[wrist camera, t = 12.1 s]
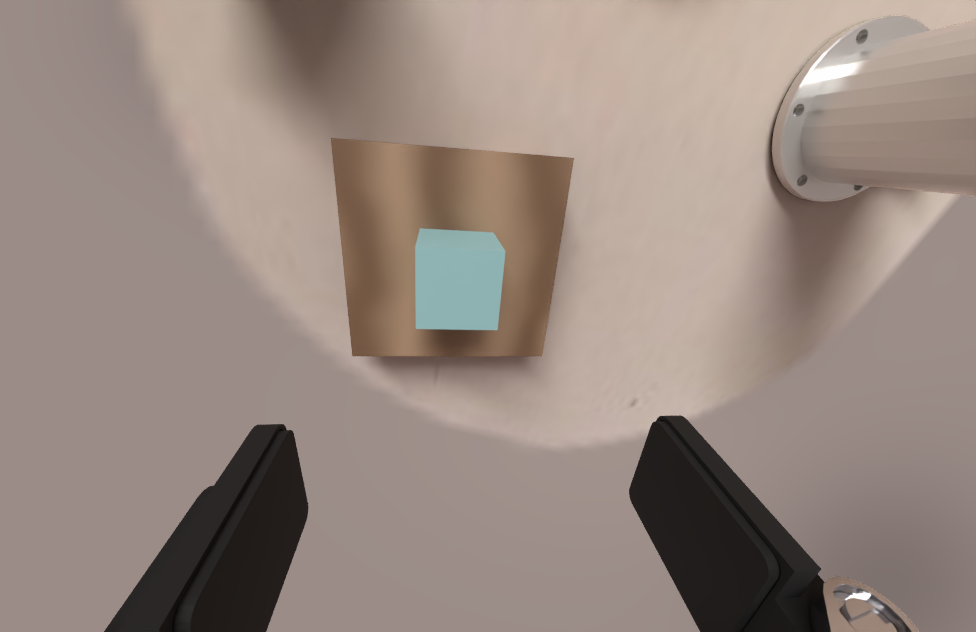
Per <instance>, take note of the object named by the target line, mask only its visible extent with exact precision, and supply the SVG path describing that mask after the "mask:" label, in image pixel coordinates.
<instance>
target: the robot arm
mask: <svg viewBox="0 0 976 632" xmlns="http://www.w3.org/2000/svg"><path fill="white" fill-rule="evenodd" d="M772 157H773V165H774V168H775V171H776V174H777V177H778V178H779V180H780V182H781V183H782V185H783V186H784V187H785V188H786V189H787V190H788V191H789V192H790V193H791V194H793V195H795V196H797V197H799V198H801V199H806V200H811V201H820V202H831V201H838V200H842V199H845V198H848V197H851V196H854V195H856V194H858V193H860V192H862V191H864V190H866V189H868V188H869V187H871V186H873V187H884V188H896V189H907V190H918V191H929V192H940V193H951V194H962V195H973V196H976V20H972V21H968V22H964V23H960V24H955V25H951V26H947V27H943V28H939V29H934V30H929V28H928V27H927V26H925V25H924V24H923V23H922V22H920V21H919V20H917V19H914V18H911V17H908V16H905V15H888V16H884V17H880V18H875V19H872V20H868V21H866V22H863V23H860V24H857V25H854V26H852V27H850V28H849V29H847V30H845V31H843V32H842V33H840V34H838V35H836V36H835V37H834V38H833V39H831V40H830V41H829V42H828V43H826V44H825V45H824V46H823V47H821V48H820V49H819V51H818V52H817V53H816V54H815V55H814V56H813V57H812V58H811V59H810V60H809V61H808V62H807V63H806V65H805V66H804V67H803V69H802V70H801V71H800V73H799V74H798V76H797V77H796V78H795V80H794V82H793V83H792V85H791V87H790V89H789V90H788V92H787V94H786V96H785V98H784V100H783V103H782V105H781V108H780V110H779V113H778V116H777V120H776V124H775V128H774V132H773V141H772ZM629 494H630V499H631V502H632V504H633V506H634V508H635V510H636V512H637V514H638V516H639V517H640V519H641V521H642V523H643V525H644V527H645V529H646V531H647V532H648V534H649V536H650V538H651V540H652V542H653V544H654V546H655V548H656V549H657V551H658V553H659V555H660V557H661V559H662V561H663V562H664V564H665V566H666V568H667V570H668V572H669V574H670V576H671V577H672V579H673V581H674V583H675V585H676V587H677V589H678V591H679V592H680V594H681V596H682V598H683V600H684V602H685V604H686V606H687V608H688V609H689V611H690V613H691V615H692V617H693V619H694V621H695V623H696V625H697V626H698V628H699V630H700V632H920V631H919V630H918V629H917V628H916V626H915V625H914V624H913V623H912V622H911V620H910V619H909V618H908V617H907V616H906V615H905V614H904V613H903V612H902V611H901V610H899V608H898V607H897V606H896V605H894V604H893V603H892V602H890V601H889V600H888V599H886V598H885V597H884V596H883V595H881V594H880V593H879V592H877V591H875V590H873V589H871V588H870V587H868V586H866V585H865V584H863V583H860V582H858V581H855V580H853V579H850V578H846V577H840V576H835V577H831V578H828V579H827V580H826V582H824V581H823V580H822V579H821V578H820V577H819V576H818V572H819V571H820V570H821V568H820V567H819V566H818V565H817V564H816V563H815V562H814V561H813V559H812V558H811V557H810V556H809V555H808V554H807V553H806V552H805V551H804V550H803V548H802V547H801V546H800V545H799V544H798V543H797V542H796V541H795V539H793V537H792V536H791V535H790V534H789V533H788V532H787V531H786V529H785V528H784V527H783V526H782V525H781V524H780V523H779V522H778V521H777V519H775V517H774V516H773V515H772V514H771V513H770V512H769V511H768V510H767V508H766V507H765V506H764V505H763V504H762V503H761V502H760V500H759V499H758V498H757V497H756V496H755V495H754V494H753V493H752V492H751V490H749V488H748V487H747V486H746V485H745V484H744V483H743V482H742V480H741V479H740V478H739V477H738V476H737V475H736V474H735V473H734V472H733V470H732V469H731V468H730V467H729V466H728V465H727V464H726V463H725V462H724V460H723V459H722V458H721V457H720V456H719V455H718V454H717V453H716V451H715V450H714V449H713V448H712V447H711V446H710V445H709V444H708V443H707V442H706V440H704V438H703V437H702V436H701V435H700V434H699V433H698V431H697V430H696V429H695V428H694V427H693V426H692V425H691V424H690V423H689V421H688V420H687V419H686V418H684V417H683V416H660V417H658V418H657V420H656V422H653V423H652V425H651V428H650V430H649V433H648V436H647V439H646V442H645V445H644V448H643V451H642V454H641V457H640V460H639V462H638V466H637V468H636V471H635V474H634V477H633V480H632V483H631V486H630V489H629ZM307 515H308V502H307V497H306V492H305V487H304V482H303V477H302V472H301V467H300V462H299V457H298V452H297V448H296V442H295V437H294V433H293V431H291V430H286V427H285V426H284V425H283V424H273V425H256V426H255V427H254V428H253V429H252V430H251V431H250V433H249V434H248V436H247V437H246V439H245V440H244V442H243V443H242V445H241V447H240V448H239V449H238V451H237V452H236V454H235V455H234V457H233V458H232V460H231V461H230V463H229V464H228V466H227V467H226V469H225V470H224V472H223V473H222V475H221V476H220V478H219V479H218V481H217V482H216V484H215V485H214V486H210V487H208V488H207V489H205V490H204V491H203V492H202V493H201V494H200V495H199V497H198V498H197V499H196V501H195V502H194V504H193V505H192V506H191V508H190V509H189V511H188V512H187V513H186V515H185V516H184V518H183V519H182V521H181V522H180V524H179V525H178V527H177V528H176V529H175V531H174V532H173V534H172V535H171V537H170V538H169V539H168V541H167V543H166V544H165V545H164V546H163V548H162V549H161V551H160V552H159V554H158V555H157V557H156V558H155V559H154V561H153V562H152V564H151V565H150V567H149V568H148V570H147V571H146V572H145V574H144V575H143V577H142V578H141V580H140V581H139V583H138V584H137V585H136V587H135V588H134V590H133V591H132V593H131V594H130V595H129V597H128V598H127V600H126V601H125V603H124V604H123V606H122V607H121V608H120V610H119V611H118V613H117V614H116V615H115V617H114V618H113V620H112V621H111V623H110V624H109V625H108V627H107V628H106V630H105V631H104V632H266V630H267V628H268V625H269V622H270V619H271V616H272V614H273V611H274V608H275V605H276V603H277V600H278V597H279V594H280V592H281V589H282V586H283V584H284V581H285V578H286V575H287V572H288V570H289V567H290V564H291V562H292V559H293V556H294V553H295V551H296V548H297V545H298V542H299V540H300V537H301V534H302V531H303V529H304V525H305V522H306V520H307Z"/></svg>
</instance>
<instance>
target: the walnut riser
mask: <svg viewBox="0 0 976 632" xmlns="http://www.w3.org/2000/svg"><path fill="white" fill-rule="evenodd" d="M331 143H332V153H333V163H334V173H335V183H336V194H337V204H338V214H339V224H340V234H341V244H342V255H343V265H344V275H345V285H346V295H347V305H348V316H349V326H350V336H351V346H352V356H542V354H543V347H544V341H545V335H546V329H547V322H548V316H549V310H550V304H551V298H552V291H553V285H554V279H555V273H556V266H557V260H558V254H559V248H560V242H561V235H562V229H563V223H564V217H565V210H566V204H567V198H568V192H569V186H570V179H571V173H572V167H573V161H574V158H566V157H554V156H542V155H530V154H518V153H506V152H493V151H481V150H469V149H457V148H445V147H433V146H421V145H409V144H396V143H384V142H372V141H360V140H348V139H336V138H331ZM420 228H422V229H440V230H458V231H476V232H494V234H495V235H496V237H497V239H498V240H499V242H500V243H501V245H502V247H503V248H504V250H505V251H506V252H505V262H504V272H503V281H502V291H501V301H500V311H499V321H498V330H450V329H416V295H415V246H416V242H417V238H418V234H419V230H420Z"/></svg>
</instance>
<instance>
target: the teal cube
mask: <svg viewBox="0 0 976 632" xmlns="http://www.w3.org/2000/svg"><path fill="white" fill-rule="evenodd" d="M505 252H506V251H505V250H504V248H503V247H502V245H501V243H500V242H499V240H498V239H497V237H496V235H495V234H494V232H476V231H458V230H440V229H422V228H420V230H419V234H418V238H417V242H416V246H415V295H416V329H450V330H498V321H499V311H500V301H501V291H502V281H503V272H504V262H505Z"/></svg>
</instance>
